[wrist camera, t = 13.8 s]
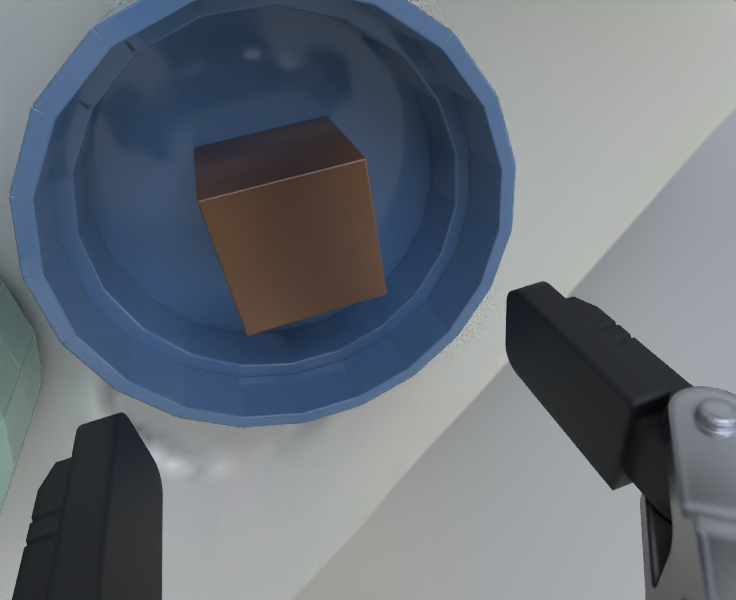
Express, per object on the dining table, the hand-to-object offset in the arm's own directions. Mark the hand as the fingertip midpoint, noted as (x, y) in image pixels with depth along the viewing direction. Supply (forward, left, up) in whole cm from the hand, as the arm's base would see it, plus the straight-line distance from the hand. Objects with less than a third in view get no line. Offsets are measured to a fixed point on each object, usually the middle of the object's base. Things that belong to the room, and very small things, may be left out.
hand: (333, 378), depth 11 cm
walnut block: (0, 0, -10) cm, 10 cm away
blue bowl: (0, 0, -11) cm, 11 cm away
